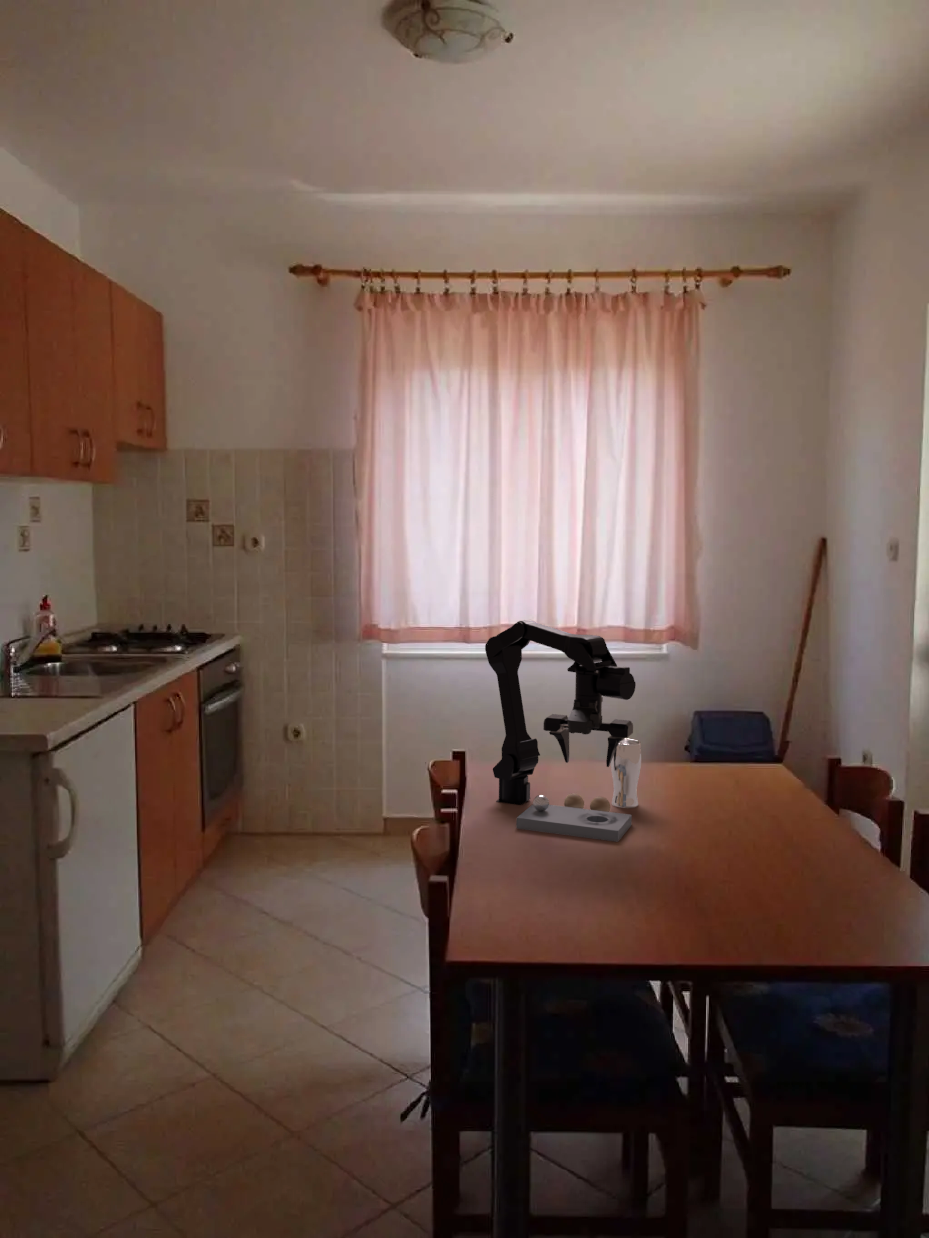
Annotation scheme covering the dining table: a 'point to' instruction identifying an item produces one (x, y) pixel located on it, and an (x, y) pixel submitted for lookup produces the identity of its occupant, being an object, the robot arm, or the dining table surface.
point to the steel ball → (541, 803)
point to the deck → (576, 822)
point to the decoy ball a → (574, 801)
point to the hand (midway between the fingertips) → (587, 764)
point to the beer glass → (626, 773)
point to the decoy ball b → (600, 804)
